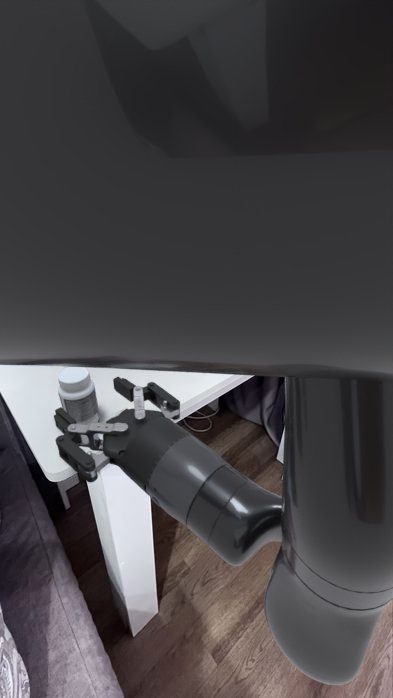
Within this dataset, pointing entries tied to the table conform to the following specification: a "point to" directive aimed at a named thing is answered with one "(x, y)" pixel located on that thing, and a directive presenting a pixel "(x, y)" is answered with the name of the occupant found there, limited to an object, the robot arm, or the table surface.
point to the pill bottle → (78, 394)
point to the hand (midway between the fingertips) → (88, 397)
